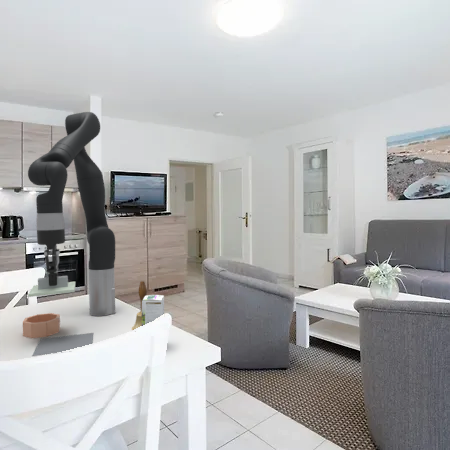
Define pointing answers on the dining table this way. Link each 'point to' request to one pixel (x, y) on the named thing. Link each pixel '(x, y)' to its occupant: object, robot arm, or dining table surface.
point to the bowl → (41, 325)
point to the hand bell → (141, 294)
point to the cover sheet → (51, 291)
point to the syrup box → (152, 308)
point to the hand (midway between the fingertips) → (53, 284)
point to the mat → (62, 343)
